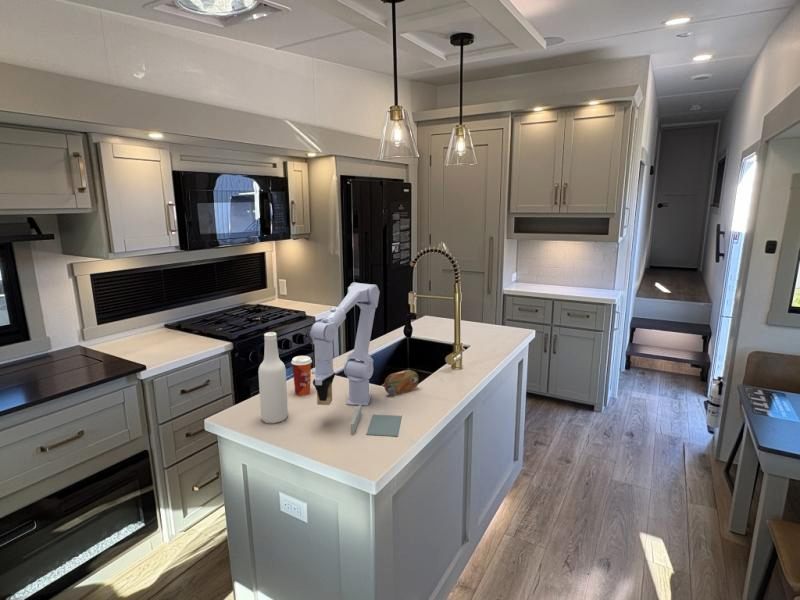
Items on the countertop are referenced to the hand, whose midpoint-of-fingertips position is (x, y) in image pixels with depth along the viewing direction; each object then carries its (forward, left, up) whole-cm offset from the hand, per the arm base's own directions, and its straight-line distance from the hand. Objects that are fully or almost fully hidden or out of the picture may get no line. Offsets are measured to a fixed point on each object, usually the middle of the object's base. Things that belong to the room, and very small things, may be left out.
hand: (324, 397), depth 149 cm
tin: (-28, +23, -9) cm, 37 cm away
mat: (0, +20, -9) cm, 22 cm away
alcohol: (-1, -18, -9) cm, 20 cm away
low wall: (0, +10, -9) cm, 14 cm away
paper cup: (-23, -15, -9) cm, 29 cm away
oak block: (0, 0, -2) cm, 2 cm away
